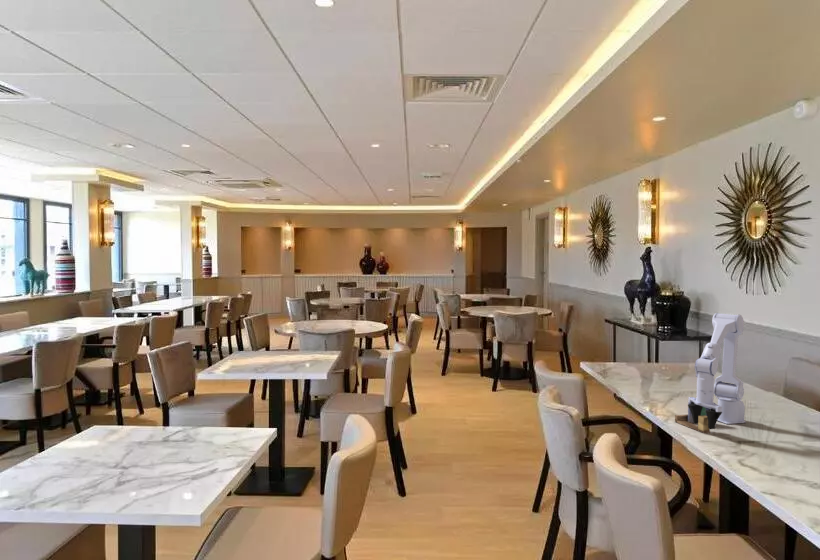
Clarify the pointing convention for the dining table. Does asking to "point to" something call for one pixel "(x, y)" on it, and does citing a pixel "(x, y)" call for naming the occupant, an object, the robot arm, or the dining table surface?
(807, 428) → the dining table surface
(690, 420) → the flask
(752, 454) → the dining table surface
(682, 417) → the wooden t-shaped handle
